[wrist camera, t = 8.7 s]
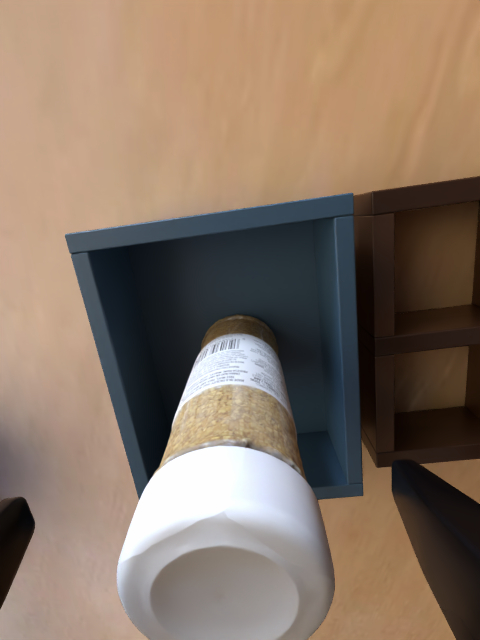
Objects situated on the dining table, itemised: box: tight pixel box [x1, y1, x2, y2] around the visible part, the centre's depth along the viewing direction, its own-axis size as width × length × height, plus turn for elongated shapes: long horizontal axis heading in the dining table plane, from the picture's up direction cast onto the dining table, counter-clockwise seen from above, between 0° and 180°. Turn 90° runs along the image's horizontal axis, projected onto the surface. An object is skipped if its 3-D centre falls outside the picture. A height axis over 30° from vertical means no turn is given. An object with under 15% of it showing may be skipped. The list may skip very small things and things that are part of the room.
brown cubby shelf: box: [353, 176, 480, 468], centre depth 18 cm, size 15×8×4 cm, turn 8°
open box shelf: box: [65, 193, 363, 500], centre depth 17 cm, size 15×12×5 cm
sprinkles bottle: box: [117, 315, 335, 640], centre depth 13 cm, size 5×5×13 cm
